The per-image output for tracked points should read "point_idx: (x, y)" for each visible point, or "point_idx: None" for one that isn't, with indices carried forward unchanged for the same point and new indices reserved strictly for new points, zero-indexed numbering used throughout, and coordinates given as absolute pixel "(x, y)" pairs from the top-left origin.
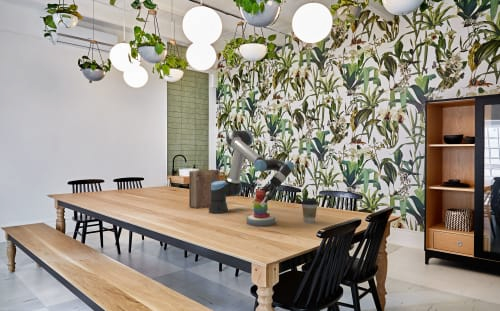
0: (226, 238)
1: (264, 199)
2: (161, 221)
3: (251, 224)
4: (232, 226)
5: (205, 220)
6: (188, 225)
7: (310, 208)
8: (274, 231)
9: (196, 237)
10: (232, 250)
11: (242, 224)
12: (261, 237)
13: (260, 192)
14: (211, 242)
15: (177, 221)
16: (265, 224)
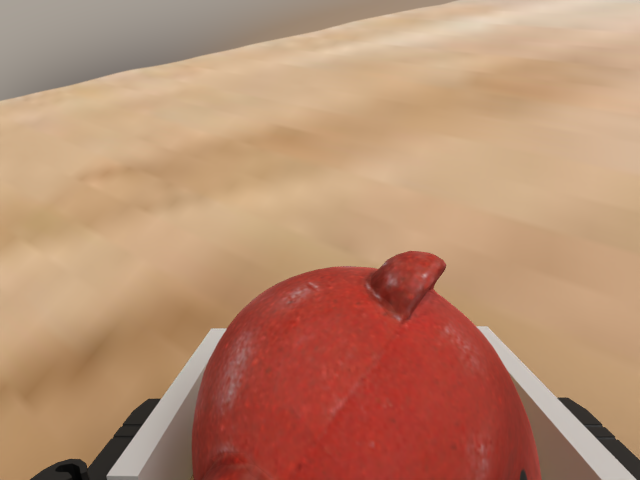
0: (155, 125)
1: (159, 403)
2: (532, 28)
3: None
4: (334, 206)
5: (529, 142)
6: (430, 76)
7: None
8: (68, 375)
9: (236, 66)
10: (28, 103)
11: None
12: (46, 239)
13: (232, 329)
14: (150, 83)
15: (523, 61)
16: None
